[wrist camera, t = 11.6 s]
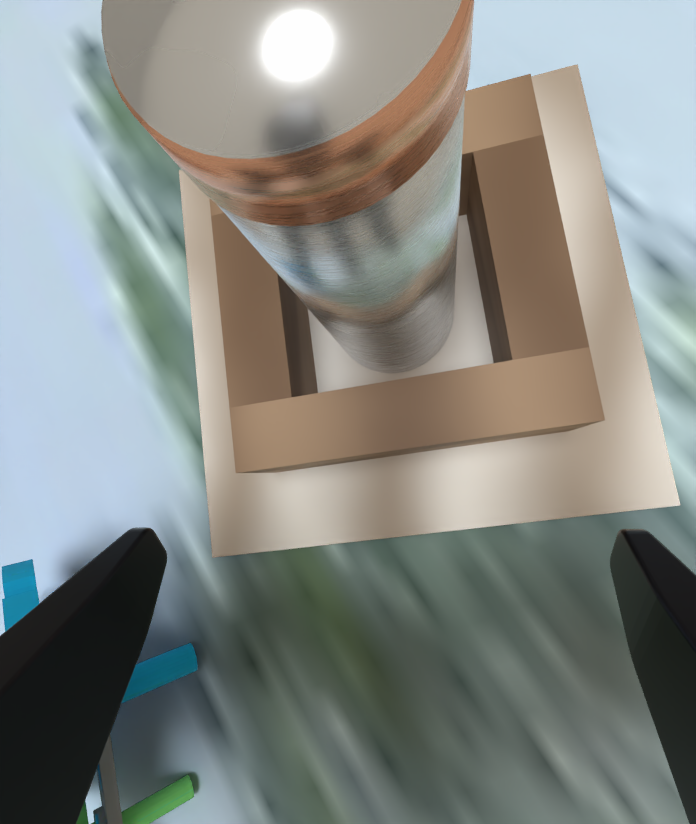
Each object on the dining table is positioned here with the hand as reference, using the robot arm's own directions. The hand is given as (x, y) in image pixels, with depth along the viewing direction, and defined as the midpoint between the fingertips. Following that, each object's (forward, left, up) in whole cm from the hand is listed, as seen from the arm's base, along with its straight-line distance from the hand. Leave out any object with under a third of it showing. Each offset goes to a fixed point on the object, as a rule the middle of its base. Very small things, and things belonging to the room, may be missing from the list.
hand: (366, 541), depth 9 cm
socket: (+1, +7, -8) cm, 11 cm away
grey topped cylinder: (+1, +7, -8) cm, 10 cm away
